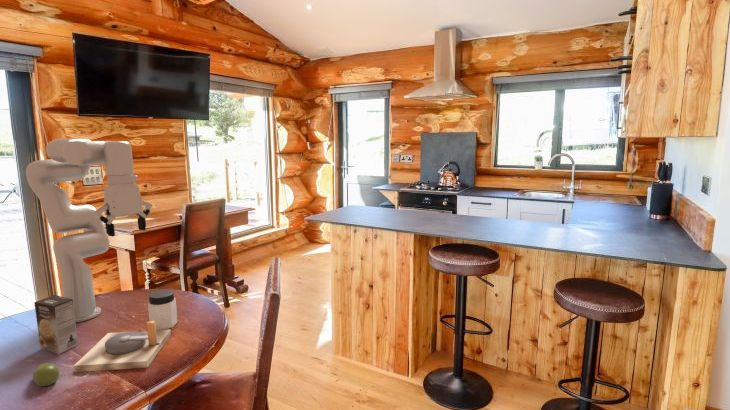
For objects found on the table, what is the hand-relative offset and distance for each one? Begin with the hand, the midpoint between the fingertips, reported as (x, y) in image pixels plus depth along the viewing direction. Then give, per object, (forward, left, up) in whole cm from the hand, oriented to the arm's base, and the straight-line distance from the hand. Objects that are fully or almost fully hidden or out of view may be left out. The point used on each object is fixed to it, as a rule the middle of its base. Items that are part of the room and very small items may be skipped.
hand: (127, 232), depth 132 cm
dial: (+3, -10, -34) cm, 36 cm away
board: (+1, -10, -36) cm, 38 cm away
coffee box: (-22, -4, -37) cm, 43 cm away
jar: (+6, +8, -37) cm, 38 cm away
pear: (-15, -23, -37) cm, 46 cm away
